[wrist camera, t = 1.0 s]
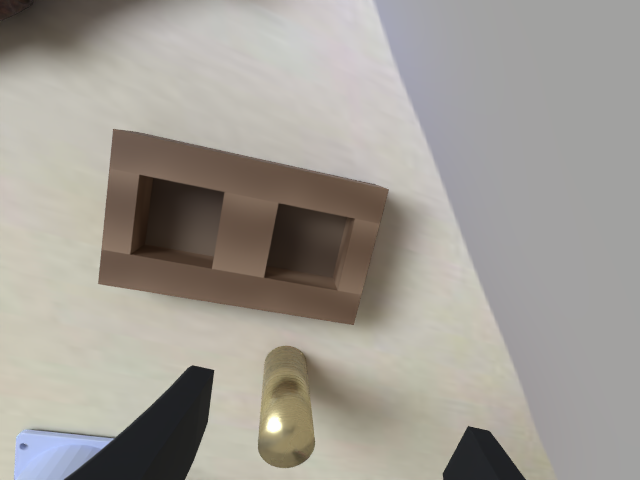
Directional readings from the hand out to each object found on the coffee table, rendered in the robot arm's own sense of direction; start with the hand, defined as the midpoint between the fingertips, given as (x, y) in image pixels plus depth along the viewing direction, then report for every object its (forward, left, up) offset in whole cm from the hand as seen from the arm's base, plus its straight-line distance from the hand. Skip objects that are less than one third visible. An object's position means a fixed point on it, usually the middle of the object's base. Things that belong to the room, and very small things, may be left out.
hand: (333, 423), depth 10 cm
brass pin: (-7, 0, -14) cm, 15 cm away
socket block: (+2, +4, -14) cm, 14 cm away
